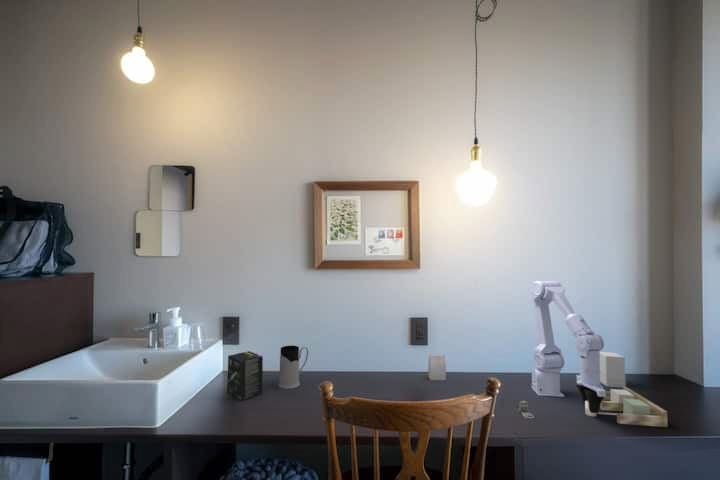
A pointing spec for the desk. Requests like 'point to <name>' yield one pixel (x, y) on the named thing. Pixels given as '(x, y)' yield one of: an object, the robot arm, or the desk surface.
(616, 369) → the supplement box
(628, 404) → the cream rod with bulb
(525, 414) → the strap clip
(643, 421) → the lane rack
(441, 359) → the beige box
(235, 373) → the tampon box
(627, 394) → the grey block
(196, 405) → the desk surface
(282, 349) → the grey mug
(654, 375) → the desk surface
